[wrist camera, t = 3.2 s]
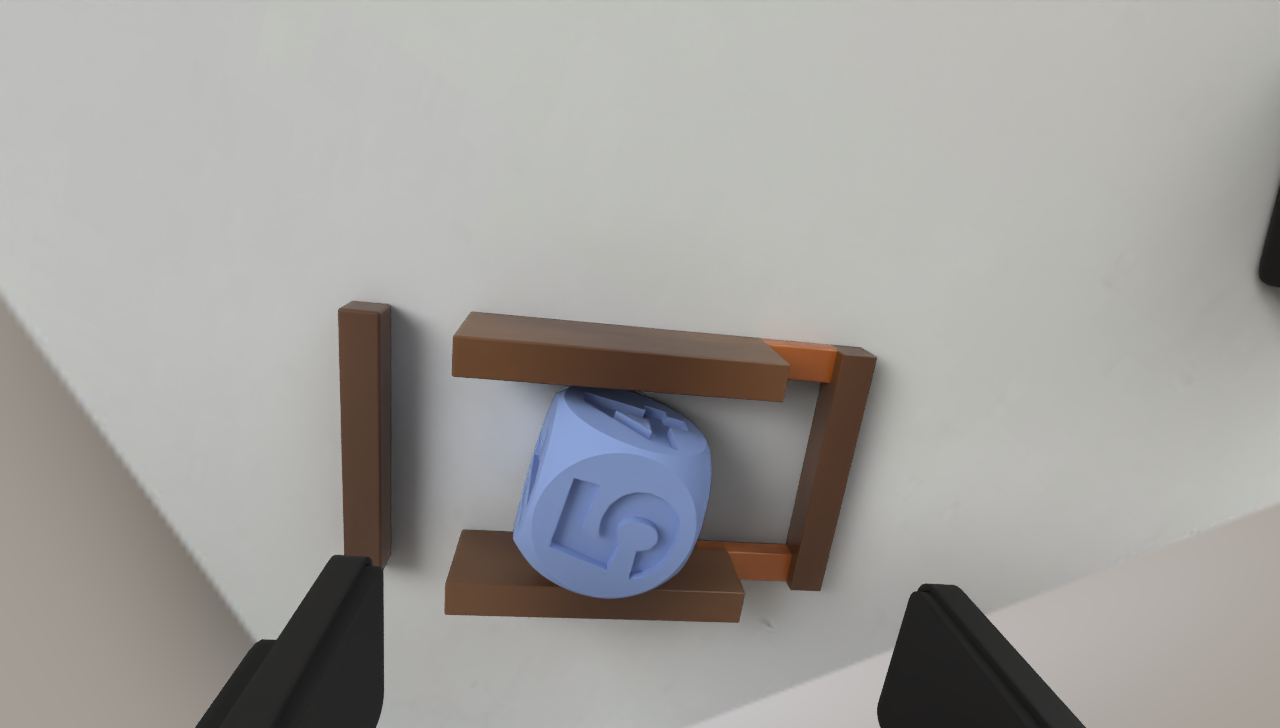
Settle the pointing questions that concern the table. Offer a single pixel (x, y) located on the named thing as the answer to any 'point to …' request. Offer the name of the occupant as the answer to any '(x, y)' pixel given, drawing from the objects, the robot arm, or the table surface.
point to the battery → (1272, 250)
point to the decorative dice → (613, 493)
